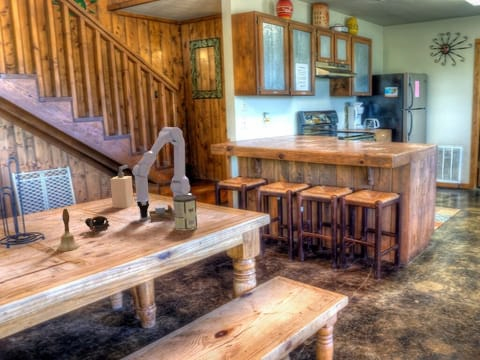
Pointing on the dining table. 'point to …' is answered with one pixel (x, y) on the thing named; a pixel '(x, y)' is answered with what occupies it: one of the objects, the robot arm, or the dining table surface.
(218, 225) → the dining table surface
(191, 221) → the coffee can
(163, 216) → the walnut lane
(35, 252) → the dining table surface
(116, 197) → the soap dispenser
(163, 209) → the tethered block
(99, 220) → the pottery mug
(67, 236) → the hand bell
